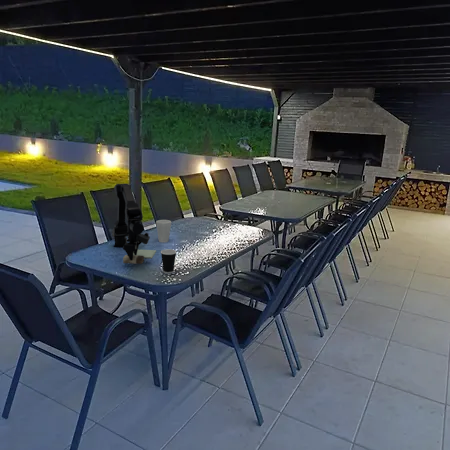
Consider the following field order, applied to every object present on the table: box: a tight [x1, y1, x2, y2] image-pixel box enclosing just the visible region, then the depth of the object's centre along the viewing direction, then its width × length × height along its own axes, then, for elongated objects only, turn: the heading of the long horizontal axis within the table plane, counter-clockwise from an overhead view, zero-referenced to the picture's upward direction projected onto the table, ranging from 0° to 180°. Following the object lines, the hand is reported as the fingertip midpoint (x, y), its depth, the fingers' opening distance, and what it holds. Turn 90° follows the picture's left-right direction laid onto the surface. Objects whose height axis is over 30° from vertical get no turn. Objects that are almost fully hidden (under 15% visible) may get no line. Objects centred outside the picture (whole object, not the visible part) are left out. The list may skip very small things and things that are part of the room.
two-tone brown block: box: [122, 254, 145, 265], centre depth 214 cm, size 10×5×3 cm, turn 89°
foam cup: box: [155, 219, 172, 244], centre depth 254 cm, size 10×9×13 cm
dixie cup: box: [160, 248, 177, 275], centre depth 200 cm, size 8×8×11 cm
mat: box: [133, 249, 157, 260], centre depth 227 cm, size 13×13×1 cm
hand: (133, 257), depth 214 cm, fingers open, 9 cm apart
